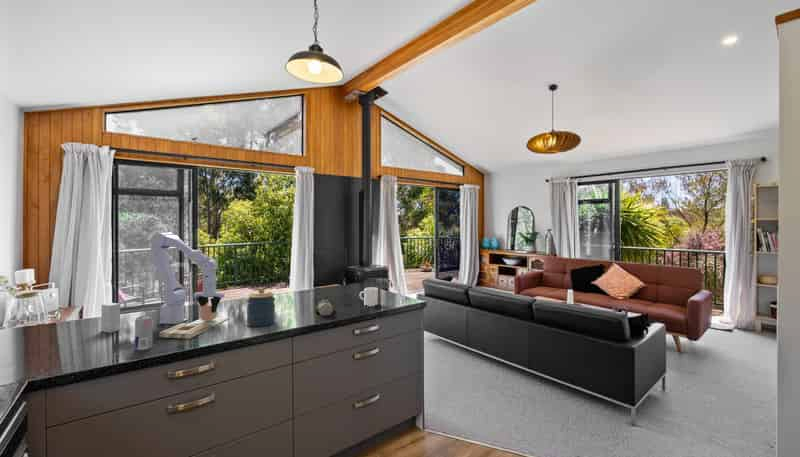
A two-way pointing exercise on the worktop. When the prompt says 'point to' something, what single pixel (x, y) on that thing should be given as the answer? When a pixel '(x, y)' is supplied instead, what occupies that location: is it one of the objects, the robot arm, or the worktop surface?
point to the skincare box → (110, 317)
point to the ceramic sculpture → (324, 307)
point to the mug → (370, 296)
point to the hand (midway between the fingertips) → (209, 311)
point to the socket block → (185, 330)
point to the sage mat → (212, 321)
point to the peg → (207, 313)
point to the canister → (260, 308)
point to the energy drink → (143, 333)
